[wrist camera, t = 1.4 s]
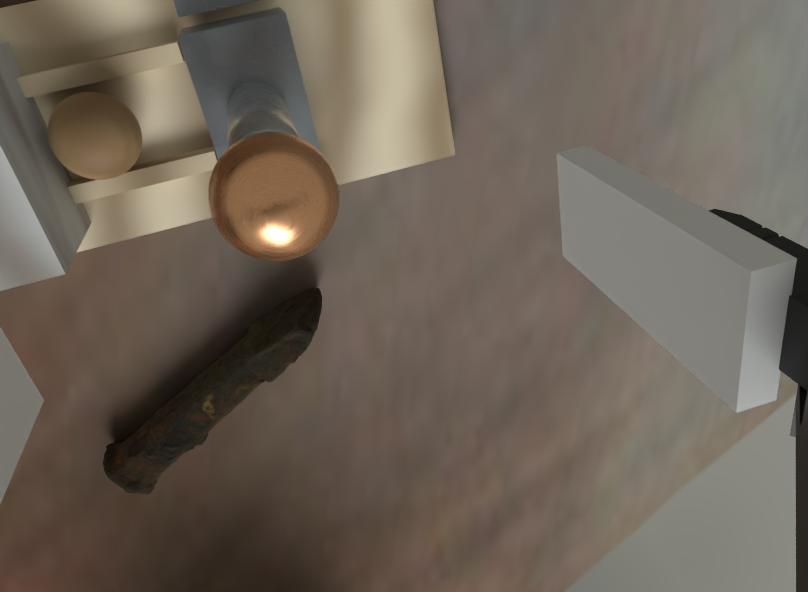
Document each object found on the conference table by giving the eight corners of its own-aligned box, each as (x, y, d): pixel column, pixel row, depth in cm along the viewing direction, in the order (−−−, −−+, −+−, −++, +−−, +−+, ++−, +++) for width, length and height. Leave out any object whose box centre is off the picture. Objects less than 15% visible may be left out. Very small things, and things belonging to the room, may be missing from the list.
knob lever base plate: (4, 262, 38) (-48, 334, 31) (-123, 33, 32) (-226, 55, 25) (448, 148, 42) (495, 189, 35) (414, -79, 35) (463, -89, 28)
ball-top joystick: (242, 204, 38) (255, 408, 21) (169, -18, 32) (103, 10, 15) (323, 184, 39) (401, 365, 22) (266, -39, 33) (311, -35, 16)
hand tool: (149, 467, 48) (142, 514, 44) (105, 440, 46) (94, 486, 42) (342, 309, 46) (354, 342, 42) (304, 272, 44) (313, 304, 40)
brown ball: (79, 174, 36) (62, 200, 32) (43, 95, 34) (20, 113, 30) (158, 155, 36) (150, 178, 33) (128, 76, 34) (116, 91, 30)
